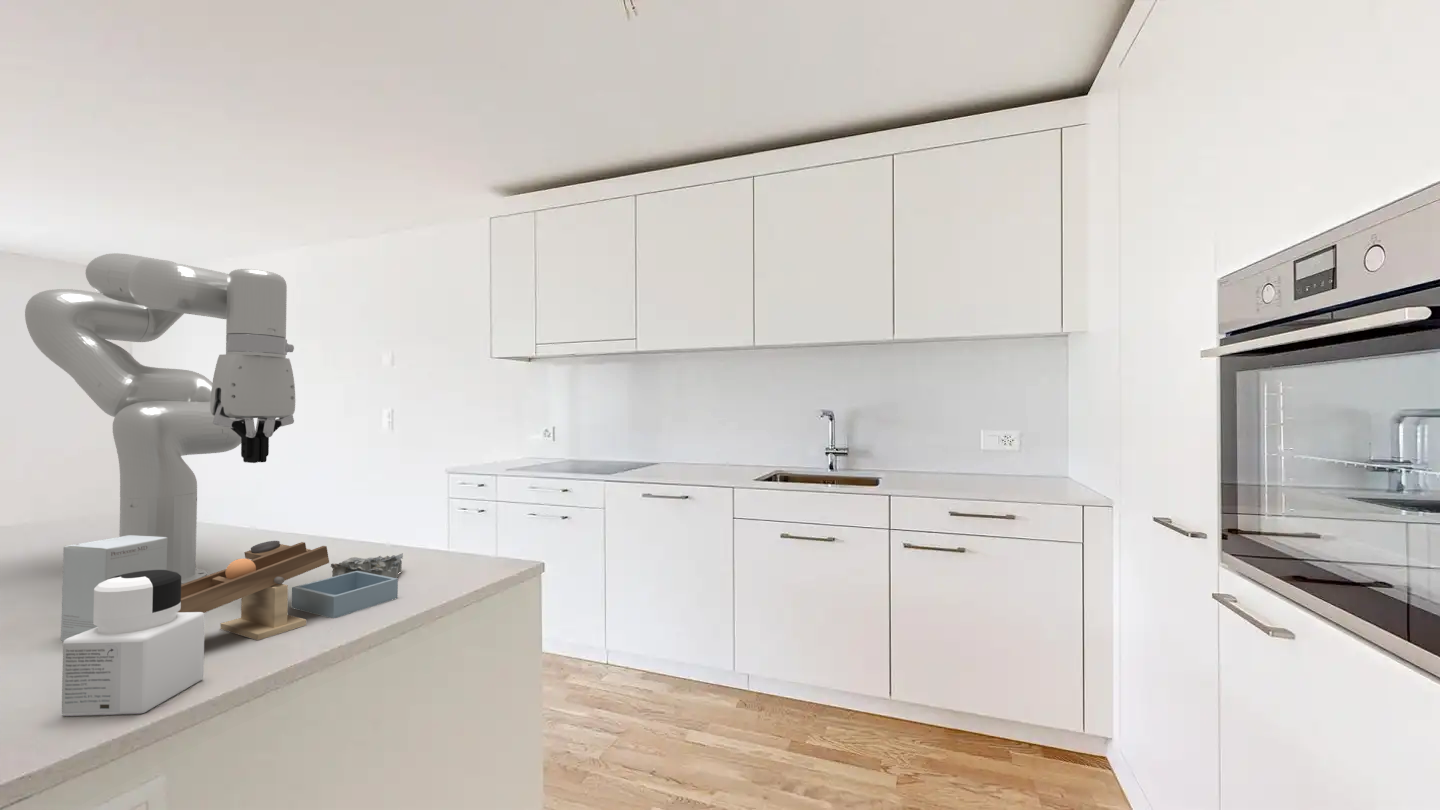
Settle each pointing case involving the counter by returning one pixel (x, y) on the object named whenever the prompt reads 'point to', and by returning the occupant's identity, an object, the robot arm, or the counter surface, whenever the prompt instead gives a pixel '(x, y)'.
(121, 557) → the supplement box
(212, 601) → the lever
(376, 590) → the dish
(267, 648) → the counter surface
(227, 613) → the counter surface
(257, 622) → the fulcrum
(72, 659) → the container
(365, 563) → the egg carton
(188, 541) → the robot arm
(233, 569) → the ball
